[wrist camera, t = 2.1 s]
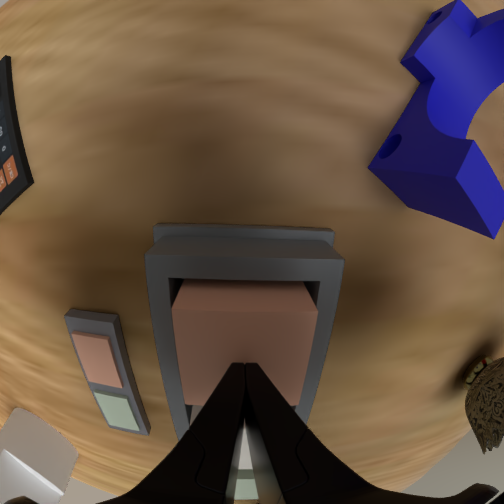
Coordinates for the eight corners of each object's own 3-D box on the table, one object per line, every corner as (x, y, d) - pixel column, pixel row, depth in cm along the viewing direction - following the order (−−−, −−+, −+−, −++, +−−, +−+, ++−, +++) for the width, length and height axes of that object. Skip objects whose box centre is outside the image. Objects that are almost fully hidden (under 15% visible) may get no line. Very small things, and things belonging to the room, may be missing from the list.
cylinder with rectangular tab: (2, 405, 16) (-37, 471, 5) (38, 409, 16) (-7, 497, 4) (49, 453, 19) (23, 517, 8) (93, 462, 19) (69, 543, 7)
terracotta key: (289, 367, 12) (298, 405, 9) (192, 365, 11) (185, 404, 9) (301, 279, 10) (318, 311, 8) (185, 276, 10) (171, 308, 8)
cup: (430, 393, 17) (474, 459, 9) (486, 323, 15) (546, 377, 7) (461, 401, 18) (496, 451, 10) (506, 344, 16) (550, 388, 9)
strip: (150, 427, 16) (147, 438, 15) (112, 420, 16) (108, 430, 15) (118, 314, 13) (110, 325, 12) (70, 308, 13) (61, 318, 11)
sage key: (267, 473, 15) (270, 498, 13) (209, 473, 15) (207, 498, 13) (273, 448, 14) (277, 478, 12) (204, 447, 14) (202, 477, 11)
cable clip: (430, 14, 8) (491, -18, 2) (477, 66, 9) (542, 54, 3) (341, 146, 11) (423, 138, 5) (406, 206, 12) (493, 239, 6)
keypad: (283, 460, 18) (287, 488, 15) (192, 460, 17) (189, 488, 15) (330, 228, 12) (357, 248, 9) (157, 223, 11) (132, 242, 9)
